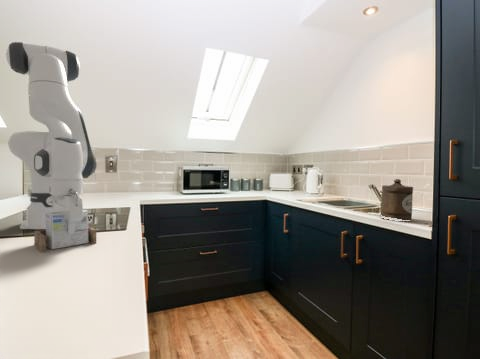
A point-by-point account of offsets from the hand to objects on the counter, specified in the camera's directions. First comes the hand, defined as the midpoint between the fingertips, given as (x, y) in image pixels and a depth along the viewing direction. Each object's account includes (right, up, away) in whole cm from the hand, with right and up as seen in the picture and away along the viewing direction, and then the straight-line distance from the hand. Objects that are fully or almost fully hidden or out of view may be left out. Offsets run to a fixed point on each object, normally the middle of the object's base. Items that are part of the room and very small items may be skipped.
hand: (67, 231), depth 89 cm
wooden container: (+141, -5, +62) cm, 154 cm away
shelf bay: (-1, -4, +1) cm, 4 cm away
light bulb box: (0, -4, 0) cm, 4 cm away
